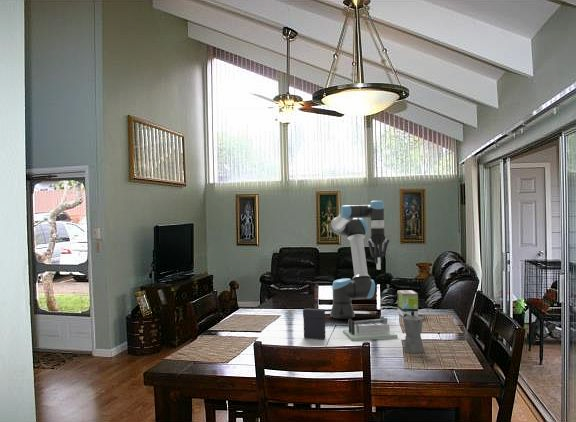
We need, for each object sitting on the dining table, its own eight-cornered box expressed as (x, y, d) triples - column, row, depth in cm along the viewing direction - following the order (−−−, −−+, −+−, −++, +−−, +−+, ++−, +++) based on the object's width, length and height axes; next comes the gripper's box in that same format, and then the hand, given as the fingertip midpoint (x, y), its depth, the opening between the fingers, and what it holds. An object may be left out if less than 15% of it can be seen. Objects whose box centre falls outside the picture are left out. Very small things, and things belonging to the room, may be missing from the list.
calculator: (326, 338, 253) (325, 309, 253) (323, 340, 249) (322, 310, 249) (306, 336, 257) (305, 307, 258) (303, 338, 253) (302, 309, 254)
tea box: (418, 317, 301) (418, 293, 301) (402, 317, 301) (401, 293, 301) (412, 312, 316) (412, 289, 316) (397, 312, 316) (396, 289, 316)
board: (385, 330, 268) (385, 327, 268) (397, 338, 250) (397, 335, 250) (342, 332, 264) (342, 329, 264) (351, 340, 246) (351, 337, 246)
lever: (383, 321, 260) (383, 318, 260) (385, 322, 257) (385, 319, 257) (351, 323, 257) (351, 320, 257) (352, 325, 254) (352, 321, 254)
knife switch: (381, 328, 264) (381, 315, 264) (389, 334, 252) (389, 319, 252) (347, 330, 261) (346, 316, 261) (353, 336, 249) (353, 321, 250)
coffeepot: (430, 353, 220) (429, 313, 221) (411, 355, 218) (409, 314, 218) (413, 345, 235) (412, 307, 236) (395, 346, 233) (394, 308, 233)
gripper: (368, 228, 273) (369, 270, 273) (390, 227, 275) (391, 269, 275) (364, 228, 281) (365, 269, 280) (386, 227, 283) (387, 268, 282)
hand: (378, 269), depth 278 cm, fingers closed
